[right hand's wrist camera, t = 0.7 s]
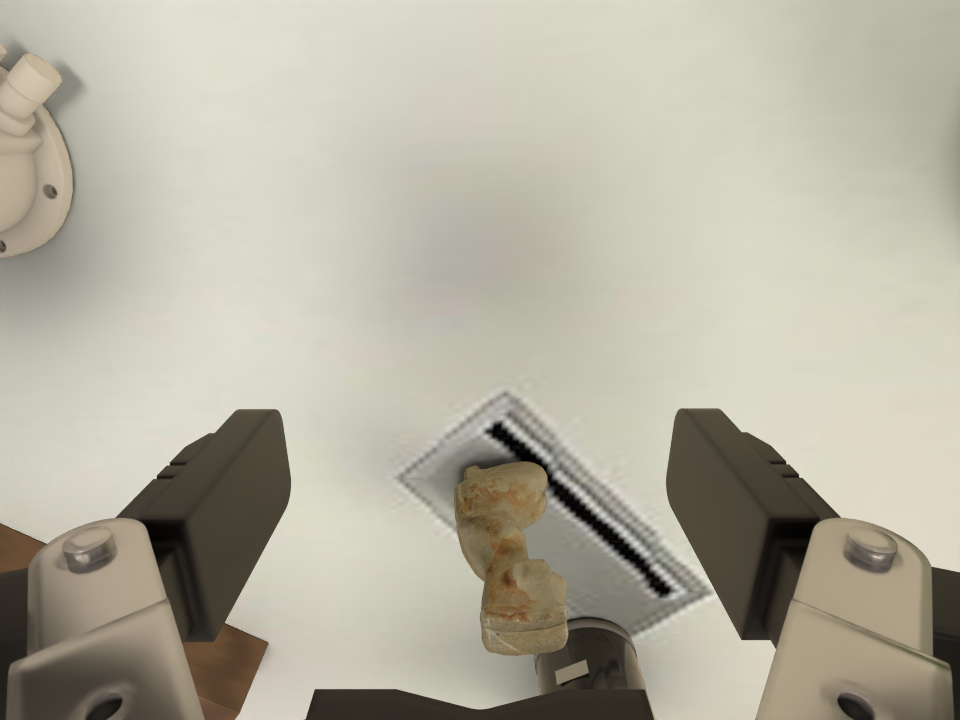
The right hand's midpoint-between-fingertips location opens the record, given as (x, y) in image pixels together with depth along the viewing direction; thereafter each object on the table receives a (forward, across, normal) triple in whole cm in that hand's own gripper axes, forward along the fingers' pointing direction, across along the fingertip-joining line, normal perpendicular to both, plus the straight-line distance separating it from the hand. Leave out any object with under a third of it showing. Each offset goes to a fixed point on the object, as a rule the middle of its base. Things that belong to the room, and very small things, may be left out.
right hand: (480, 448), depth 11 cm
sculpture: (+28, +2, -19) cm, 34 cm away
